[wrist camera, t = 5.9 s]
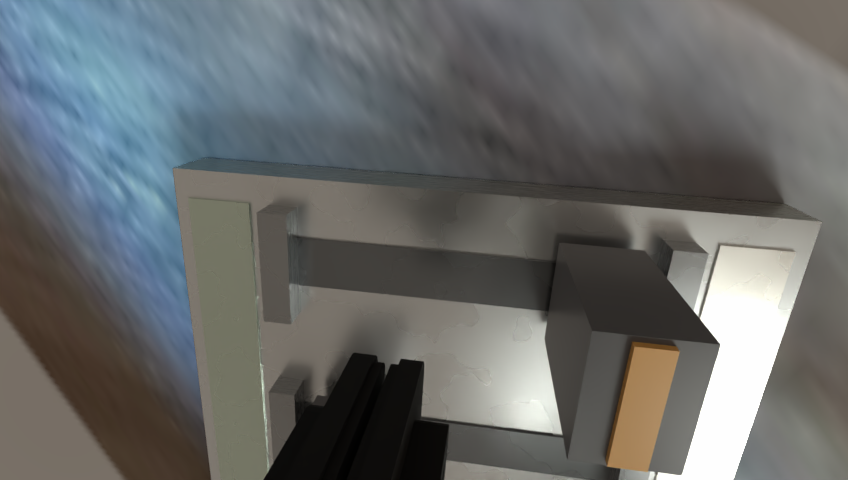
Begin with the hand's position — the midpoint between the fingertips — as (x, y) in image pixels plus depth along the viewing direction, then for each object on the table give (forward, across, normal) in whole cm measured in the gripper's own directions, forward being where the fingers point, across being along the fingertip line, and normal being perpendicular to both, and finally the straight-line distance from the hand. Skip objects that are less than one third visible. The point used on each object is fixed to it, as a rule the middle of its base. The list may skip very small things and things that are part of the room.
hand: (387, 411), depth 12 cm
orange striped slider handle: (+6, -5, -1) cm, 8 cm away
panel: (+9, -1, +6) cm, 11 cm away
